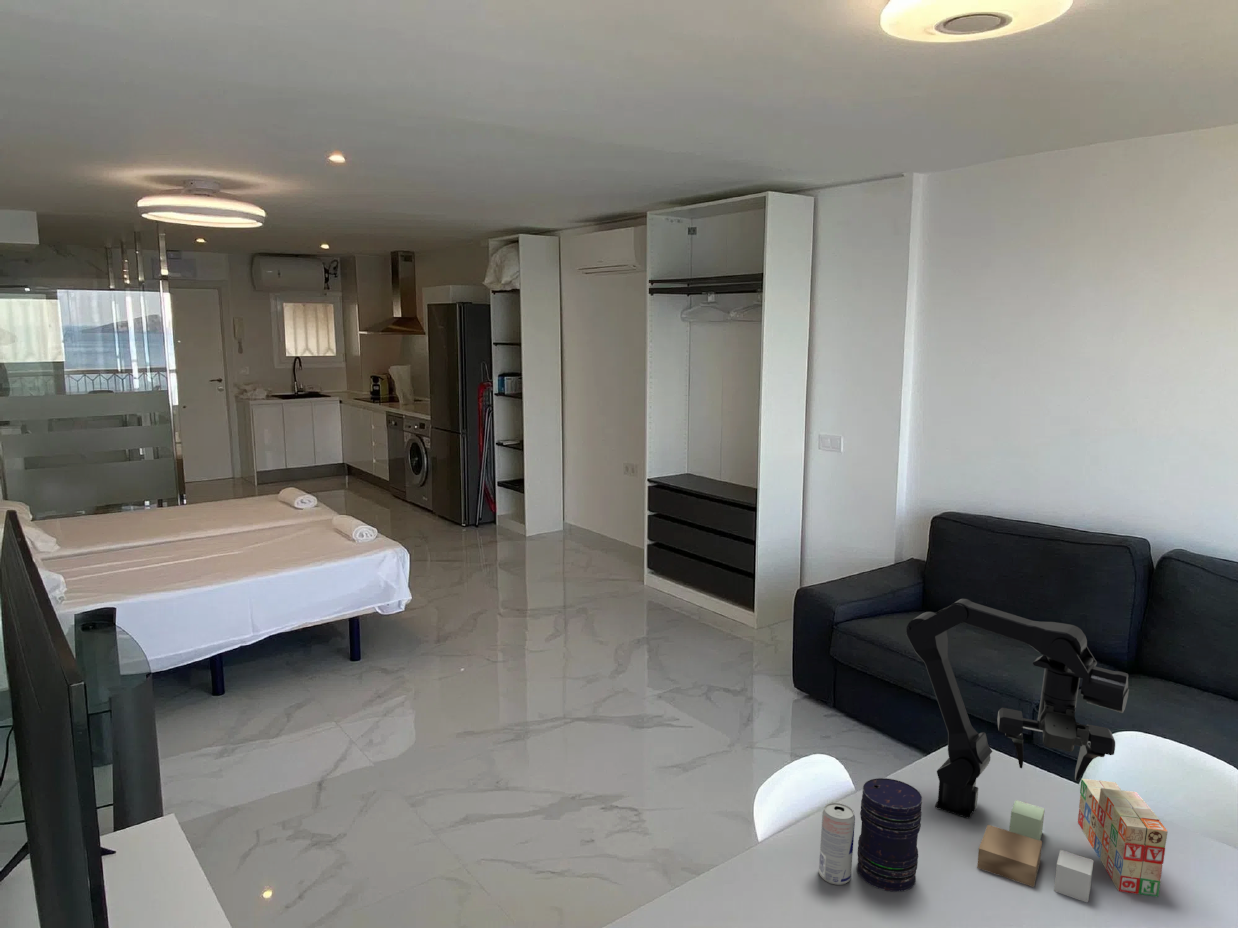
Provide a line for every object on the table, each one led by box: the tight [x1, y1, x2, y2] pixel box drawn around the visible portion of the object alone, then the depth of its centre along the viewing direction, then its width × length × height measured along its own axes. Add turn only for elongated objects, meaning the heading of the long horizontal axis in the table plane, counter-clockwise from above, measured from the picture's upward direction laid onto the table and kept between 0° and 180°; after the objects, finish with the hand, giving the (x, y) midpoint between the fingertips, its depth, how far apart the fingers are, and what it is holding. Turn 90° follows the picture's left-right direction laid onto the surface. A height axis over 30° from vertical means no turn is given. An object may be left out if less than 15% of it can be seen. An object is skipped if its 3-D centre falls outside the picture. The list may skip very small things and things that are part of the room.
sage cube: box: [1008, 799, 1045, 841], centre depth 153 cm, size 5×5×5 cm
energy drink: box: [818, 802, 856, 886], centre depth 139 cm, size 5×5×12 cm
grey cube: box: [1053, 849, 1094, 903], centre depth 137 cm, size 5×5×5 cm
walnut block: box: [976, 824, 1043, 888], centre depth 144 cm, size 9×9×4 cm
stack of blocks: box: [1077, 778, 1169, 898], centre depth 146 cm, size 21×6×12 cm, turn 168°
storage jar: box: [856, 777, 923, 893], centre depth 139 cm, size 10×10×15 cm
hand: (1048, 773), depth 151 cm, fingers open, 9 cm apart
